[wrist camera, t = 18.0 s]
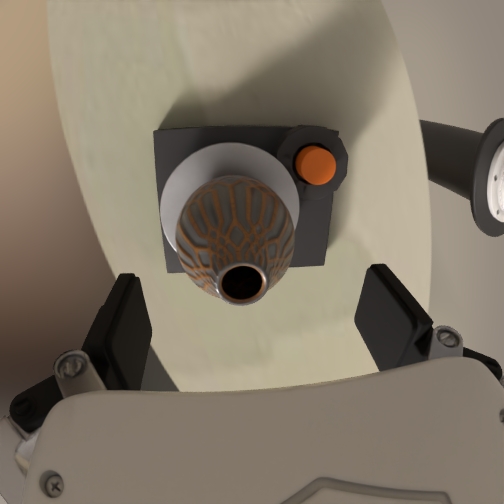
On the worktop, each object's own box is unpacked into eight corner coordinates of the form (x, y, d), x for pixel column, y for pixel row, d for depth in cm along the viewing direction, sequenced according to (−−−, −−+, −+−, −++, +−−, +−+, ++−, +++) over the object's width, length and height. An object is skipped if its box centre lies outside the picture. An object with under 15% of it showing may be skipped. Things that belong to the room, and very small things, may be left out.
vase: (276, 160, 19) (321, 199, 11) (281, 250, 22) (316, 329, 14) (174, 173, 18) (145, 222, 11) (191, 262, 21) (182, 348, 14)
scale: (335, 127, 21) (350, 130, 19) (321, 258, 27) (332, 274, 24) (156, 126, 20) (148, 129, 17) (169, 265, 25) (165, 283, 23)
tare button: (329, 146, 19) (337, 149, 18) (326, 180, 21) (334, 185, 19) (295, 144, 19) (301, 147, 18) (293, 179, 20) (299, 184, 19)
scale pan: (301, 142, 19) (304, 143, 18) (292, 267, 23) (294, 271, 23) (155, 146, 18) (154, 147, 17) (169, 273, 22) (168, 277, 22)
